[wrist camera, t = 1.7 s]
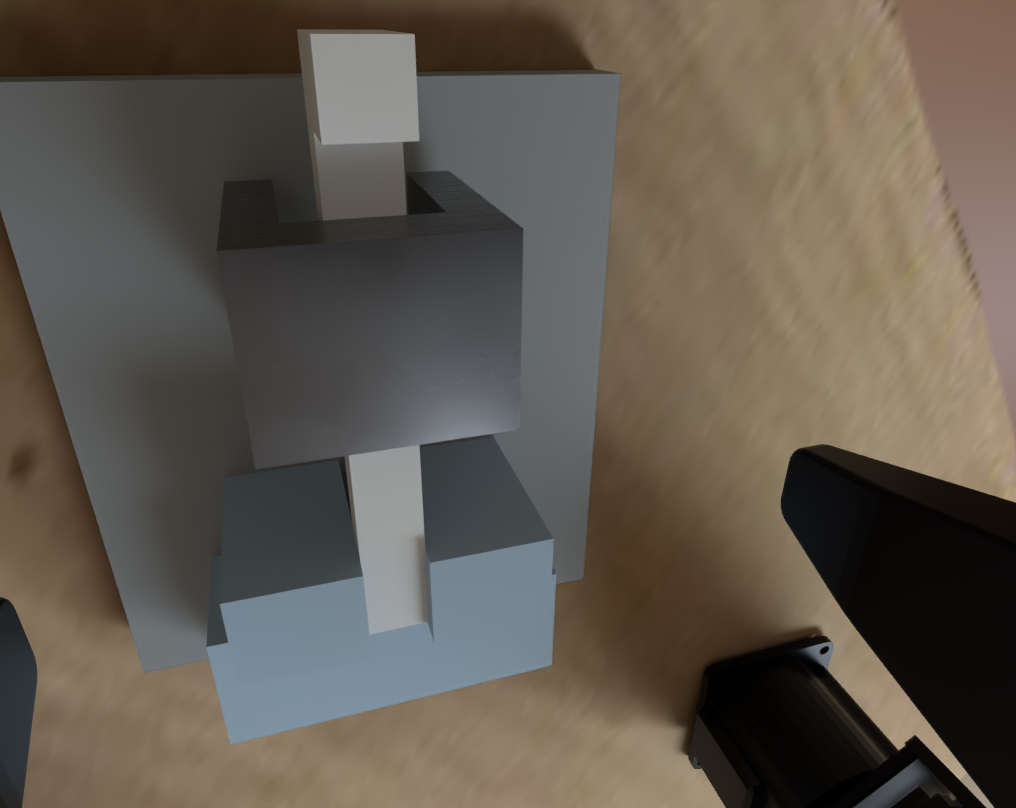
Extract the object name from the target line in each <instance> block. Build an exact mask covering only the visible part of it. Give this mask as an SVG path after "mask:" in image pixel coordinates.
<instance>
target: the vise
mask: <svg viewBox="0 0 1016 808" xmlns="http://www.w3.org/2000/svg"><path fill="white" fill-rule="evenodd" d="M297 35H298V44H299V53H300V62H301V71H302V73H265V74H183V75H101V76H19V77H0V211H1V214H2V217H3V221H4V224H5V227H6V230H7V233H8V237H9V240H10V243H11V246H12V250H13V253H14V256H15V259H16V262H17V266H18V269H19V272H20V275H21V278H22V282H23V285H24V288H25V291H26V295H27V298H28V301H29V304H30V307H31V311H32V314H33V317H34V320H35V323H36V327H37V330H38V333H39V336H40V340H41V343H42V346H43V349H44V352H45V356H46V359H47V362H48V365H49V369H50V372H51V375H52V378H53V381H54V385H55V388H56V391H57V394H58V397H59V401H60V404H61V407H62V410H63V414H64V417H65V420H66V423H67V426H68V430H69V433H70V436H71V439H72V442H73V446H74V449H75V452H76V455H77V459H78V462H79V465H80V468H81V471H82V475H83V478H84V481H85V484H86V487H87V491H88V494H89V497H90V500H91V504H92V507H93V510H94V513H95V516H96V520H97V523H98V526H99V529H100V532H101V536H102V539H103V542H104V545H105V549H106V552H107V555H108V558H109V561H110V565H111V568H112V571H113V574H114V577H115V581H116V584H117V587H118V590H119V594H120V597H121V600H122V603H123V606H124V610H125V613H126V616H127V619H128V622H129V626H130V629H131V632H132V635H133V639H134V642H135V645H136V648H137V651H138V655H139V658H140V661H141V664H142V667H143V671H144V673H146V672H151V671H155V670H160V669H165V668H169V667H174V666H179V665H183V664H188V663H193V662H197V661H202V660H207V659H209V660H210V664H211V668H212V672H213V676H214V680H215V684H216V688H217V692H218V696H219V700H220V704H221V708H222V712H223V716H224V720H225V724H226V728H227V732H228V736H229V740H230V744H235V743H239V742H243V741H247V740H251V739H255V738H259V737H263V736H267V735H271V734H275V733H279V732H284V731H288V730H292V729H296V728H300V727H304V726H308V725H312V724H316V723H320V722H324V721H328V720H332V719H336V718H340V717H345V716H349V715H353V714H357V713H361V712H365V711H369V710H373V709H377V708H381V707H385V706H389V705H393V704H397V703H401V702H406V701H410V700H414V699H418V698H422V697H426V696H430V695H434V694H438V693H442V692H446V691H450V690H454V689H458V688H463V687H467V686H471V685H475V684H479V683H483V682H487V681H491V680H495V679H499V678H503V677H507V676H511V675H515V674H519V673H524V672H528V671H532V670H536V669H540V668H544V667H548V666H552V652H553V632H554V612H555V593H556V584H561V583H566V582H570V581H575V580H580V579H584V566H585V552H586V538H587V525H588V511H589V498H590V484H591V470H592V457H593V443H594V429H595V416H596V402H597V389H598V375H599V361H600V348H601V334H602V321H603V307H604V293H605V280H606V266H607V252H608V239H609V225H610V212H611V198H612V184H613V171H614V157H615V144H616V130H617V116H618V103H619V89H620V75H621V74H620V73H614V72H608V71H602V70H596V69H594V70H512V71H429V72H416V54H415V34H410V33H403V32H396V31H388V30H343V29H297ZM448 170H449V171H450V172H451V173H452V174H454V175H455V176H456V177H458V178H459V179H460V180H462V181H463V182H464V183H465V184H467V185H468V186H469V187H471V188H472V189H473V190H474V191H476V192H477V193H478V194H480V195H481V196H482V197H483V198H485V199H486V200H487V201H489V202H490V203H491V204H492V205H494V206H495V207H496V208H498V209H499V210H500V211H501V212H503V213H504V214H505V215H507V216H508V217H509V218H510V219H512V220H513V221H514V222H516V223H517V224H518V225H519V226H521V227H522V228H523V279H522V333H521V386H520V430H514V431H507V432H501V433H494V434H487V435H481V436H474V437H467V438H461V439H454V440H448V441H441V442H434V443H428V444H421V445H415V446H408V447H401V448H395V449H388V450H382V451H375V452H368V453H362V454H355V455H349V456H342V457H335V458H329V459H322V460H316V461H309V462H302V463H296V464H289V465H282V466H276V467H269V468H263V469H255V464H254V458H253V452H252V447H251V441H250V436H249V430H248V425H247V419H246V414H245V408H244V402H243V397H242V391H241V386H240V380H239V375H238V369H237V363H236V358H235V352H234V347H233V341H232V336H231V330H230V324H229V319H228V313H227V308H226V302H225V297H224V291H223V285H222V280H221V274H220V269H219V263H218V258H217V252H216V250H217V241H218V231H219V222H220V213H221V204H222V194H223V185H224V182H226V181H247V180H267V179H272V183H273V189H274V195H275V200H276V206H277V212H278V218H279V223H291V222H306V221H321V220H337V219H352V218H367V217H383V216H398V215H409V209H408V191H407V173H408V172H428V171H448Z"/></svg>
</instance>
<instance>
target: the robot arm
mask: <svg viewBox="0 0 1016 808" xmlns="http://www.w3.org/2000/svg"><path fill="white" fill-rule="evenodd" d="M781 510H782V514H783V517H784V519H785V521H786V522H787V524H788V526H789V527H790V529H791V530H792V532H793V533H794V535H795V537H796V538H797V540H798V541H799V543H800V545H801V546H802V548H803V549H804V551H805V552H806V554H807V556H808V557H809V559H810V560H811V562H812V564H813V565H814V567H815V568H816V570H817V571H818V573H819V575H820V576H821V578H822V579H823V581H824V583H825V584H826V586H827V587H828V589H829V590H830V592H831V594H832V595H833V597H834V598H835V600H836V601H837V603H838V604H839V606H840V607H841V609H842V610H843V612H844V613H845V615H846V616H847V617H848V619H849V620H850V622H851V623H852V624H853V626H854V627H855V628H856V630H857V631H858V632H859V634H860V635H861V636H862V637H863V639H864V640H865V641H866V643H867V644H868V645H869V646H870V648H871V649H872V650H873V652H874V653H875V654H876V655H877V657H878V658H879V659H880V661H881V662H882V663H883V665H884V666H885V667H886V668H887V670H888V671H889V672H890V674H891V675H892V676H893V677H894V679H895V680H896V681H897V683H898V684H899V685H900V686H901V688H902V689H903V690H904V692H905V693H906V694H907V696H908V697H909V698H910V699H911V701H912V702H913V703H914V705H915V706H916V707H917V708H918V710H919V711H920V712H921V714H922V715H923V716H924V717H925V719H926V720H927V721H928V723H929V724H930V725H931V727H932V728H933V729H934V730H935V732H936V733H937V734H938V736H939V737H940V738H941V739H942V741H943V742H944V743H945V745H946V746H947V747H948V748H949V750H950V751H951V752H952V754H953V755H954V756H955V758H956V759H957V760H958V761H959V763H960V764H961V765H962V767H963V768H964V769H965V770H966V772H967V773H968V774H969V776H970V777H971V778H972V779H973V781H974V782H975V783H976V785H977V786H978V787H979V789H980V790H981V791H982V792H983V794H984V795H985V796H986V798H987V799H988V800H989V801H990V803H991V804H992V805H993V807H994V808H1016V503H1015V502H1012V501H1009V500H1005V499H1002V498H999V497H996V496H993V495H989V494H986V493H983V492H980V491H976V490H973V489H970V488H967V487H963V486H960V485H957V484H954V483H950V482H947V481H944V480H941V479H937V478H934V477H931V476H928V475H924V474H921V473H918V472H915V471H911V470H908V469H905V468H902V467H898V466H895V465H892V464H889V463H885V462H882V461H879V460H876V459H872V458H869V457H866V456H863V455H859V454H856V453H853V452H850V451H846V450H843V449H840V448H837V447H833V446H830V445H824V444H820V445H815V446H809V447H804V448H799V449H798V450H796V451H794V453H793V454H792V456H791V457H790V460H789V465H788V469H787V474H786V478H785V483H784V488H783V492H782V497H781ZM833 648H834V644H833V643H832V642H831V641H830V640H829V638H828V637H826V636H819V637H815V638H811V639H807V640H804V641H800V642H796V643H792V644H788V645H784V646H781V647H777V648H773V649H769V650H765V651H762V652H758V653H754V654H750V655H746V656H742V657H739V658H735V659H731V660H727V661H723V662H720V663H716V664H713V665H711V666H710V667H708V668H707V670H706V671H705V673H704V676H703V682H702V687H701V692H700V698H699V703H698V708H697V714H696V719H695V724H694V730H693V735H692V741H691V746H690V751H689V757H688V758H689V761H690V763H691V765H692V766H693V767H694V769H701V768H702V769H703V771H704V772H705V774H706V776H707V777H708V779H709V781H710V782H711V784H712V786H713V787H714V789H715V791H716V792H717V794H718V796H719V797H720V799H721V800H722V802H723V804H724V805H725V807H726V808H986V807H985V806H984V805H983V804H982V803H981V802H980V801H979V800H978V799H977V798H976V797H975V796H974V795H973V794H972V793H971V791H970V790H968V788H967V787H966V786H965V785H964V784H963V783H962V782H961V781H960V780H959V779H958V778H957V777H956V776H955V775H954V774H953V773H952V772H951V771H950V770H949V769H948V768H947V767H946V766H945V765H944V764H943V763H942V762H941V761H940V760H939V759H938V758H937V757H936V756H935V755H934V754H933V753H932V752H931V751H930V750H929V749H928V748H927V747H926V746H925V745H924V743H923V742H922V741H921V740H920V739H919V738H918V737H917V736H916V735H914V736H913V737H912V738H910V739H909V740H908V741H906V742H905V745H906V746H904V747H903V748H902V749H900V750H898V749H897V748H896V747H895V746H894V745H893V744H892V742H891V741H890V740H889V739H888V738H887V737H886V736H885V735H884V733H883V732H882V731H881V730H880V729H879V728H878V727H877V726H876V724H875V723H874V722H873V721H872V720H871V719H870V718H869V717H868V715H867V714H866V713H865V712H864V711H863V710H862V709H861V707H860V706H859V705H858V704H857V703H856V702H855V701H854V700H853V698H852V697H851V696H850V695H849V694H848V693H847V692H846V691H845V689H844V688H843V687H842V686H841V685H840V684H839V683H838V682H837V680H836V679H835V678H834V677H833V676H832V675H831V674H830V673H829V671H828V670H827V669H828V665H829V662H830V658H831V655H832V652H833ZM36 686H37V665H36V660H35V656H34V654H33V651H32V649H31V646H30V644H29V642H28V639H27V637H26V634H25V632H24V629H23V627H22V625H21V622H20V620H19V617H18V615H17V613H16V610H15V608H14V606H13V605H12V603H11V602H10V601H9V600H7V599H5V598H2V597H0V808H22V803H23V795H24V787H25V778H26V770H27V761H28V753H29V745H30V736H31V728H32V719H33V711H34V702H35V694H36Z"/></svg>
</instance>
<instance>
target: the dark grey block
mask: <svg viewBox="0 0 1016 808" xmlns="http://www.w3.org/2000/svg"><path fill="white" fill-rule="evenodd" d="M407 191H408V209H409V215H398V216H383V217H367V218H352V219H337V220H321V221H306V222H291V223H279V218H278V212H277V206H276V200H275V195H274V189H273V183H272V179H267V180H247V181H226V182H224V185H223V194H222V204H221V213H220V222H219V231H218V241H217V250H216V252H217V258H218V263H219V269H220V274H221V280H222V285H223V291H224V297H225V302H226V308H227V313H228V319H229V324H230V330H231V336H232V341H233V347H234V352H235V358H236V363H237V369H238V375H239V380H240V386H241V391H242V397H243V402H244V408H245V414H246V419H247V425H248V430H249V436H250V441H251V447H252V452H253V458H254V464H255V469H263V468H269V467H276V466H282V465H289V464H296V463H302V462H309V461H316V460H322V459H329V458H335V457H342V456H349V455H355V454H362V453H368V452H375V451H382V450H388V449H395V448H401V447H408V446H415V445H421V444H428V443H434V442H441V441H448V440H454V439H461V438H467V437H474V436H481V435H487V434H494V433H501V432H507V431H514V430H520V386H521V333H522V279H523V228H522V227H521V226H519V225H518V224H517V223H516V222H514V221H513V220H512V219H510V218H509V217H508V216H507V215H505V214H504V213H503V212H501V211H500V210H499V209H498V208H496V207H495V206H494V205H492V204H491V203H490V202H489V201H487V200H486V199H485V198H483V197H482V196H481V195H480V194H478V193H477V192H476V191H474V190H473V189H472V188H471V187H469V186H468V185H467V184H465V183H464V182H463V181H462V180H460V179H459V178H458V177H456V176H455V175H454V174H452V173H451V172H450V171H449V170H448V171H428V172H408V173H407Z"/></svg>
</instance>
